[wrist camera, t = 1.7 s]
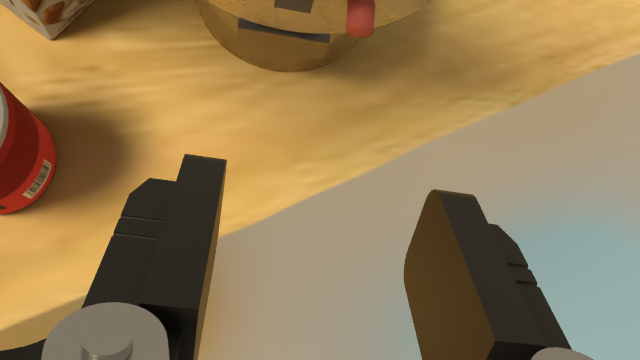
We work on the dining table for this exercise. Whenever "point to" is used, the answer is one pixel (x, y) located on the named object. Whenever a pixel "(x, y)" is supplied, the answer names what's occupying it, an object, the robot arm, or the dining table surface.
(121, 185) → the dining table surface
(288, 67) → the cooker pot
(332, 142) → the dining table surface
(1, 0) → the coffee box
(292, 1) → the lid
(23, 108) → the canned food
